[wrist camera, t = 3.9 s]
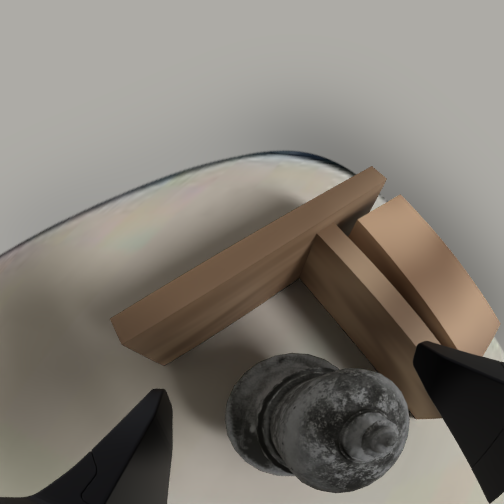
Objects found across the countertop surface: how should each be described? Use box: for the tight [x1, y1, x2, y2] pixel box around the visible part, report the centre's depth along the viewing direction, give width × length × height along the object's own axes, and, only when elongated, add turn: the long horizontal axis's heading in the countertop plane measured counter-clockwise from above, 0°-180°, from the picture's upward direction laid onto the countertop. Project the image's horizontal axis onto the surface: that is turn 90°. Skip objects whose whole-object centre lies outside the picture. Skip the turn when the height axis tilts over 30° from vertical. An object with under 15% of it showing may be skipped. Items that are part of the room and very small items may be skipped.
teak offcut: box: [348, 195, 500, 356], centre depth 12 cm, size 10×4×2 cm, turn 32°
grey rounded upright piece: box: [225, 353, 410, 493], centre depth 8 cm, size 6×6×12 cm
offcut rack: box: [110, 166, 442, 419], centre depth 12 cm, size 14×16×6 cm
